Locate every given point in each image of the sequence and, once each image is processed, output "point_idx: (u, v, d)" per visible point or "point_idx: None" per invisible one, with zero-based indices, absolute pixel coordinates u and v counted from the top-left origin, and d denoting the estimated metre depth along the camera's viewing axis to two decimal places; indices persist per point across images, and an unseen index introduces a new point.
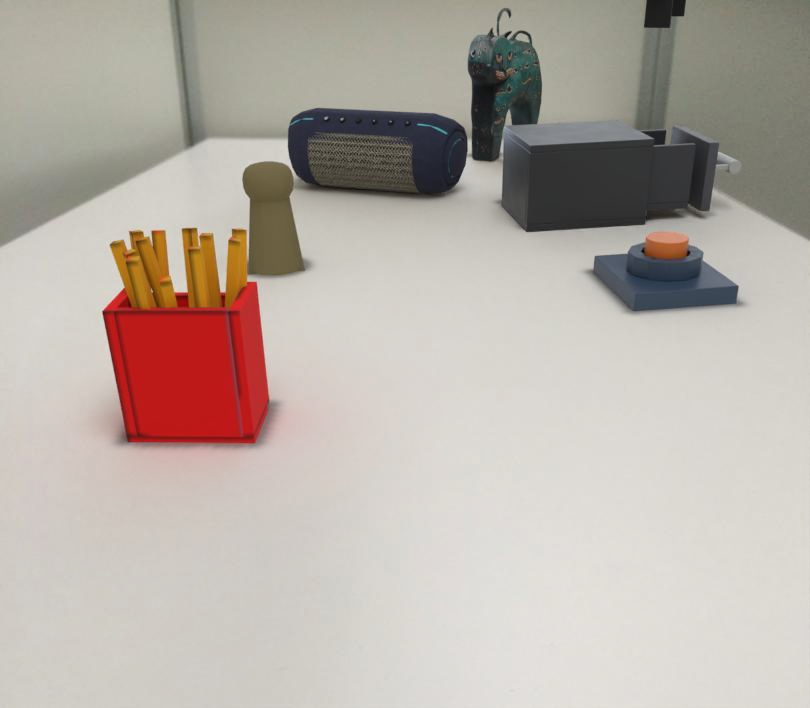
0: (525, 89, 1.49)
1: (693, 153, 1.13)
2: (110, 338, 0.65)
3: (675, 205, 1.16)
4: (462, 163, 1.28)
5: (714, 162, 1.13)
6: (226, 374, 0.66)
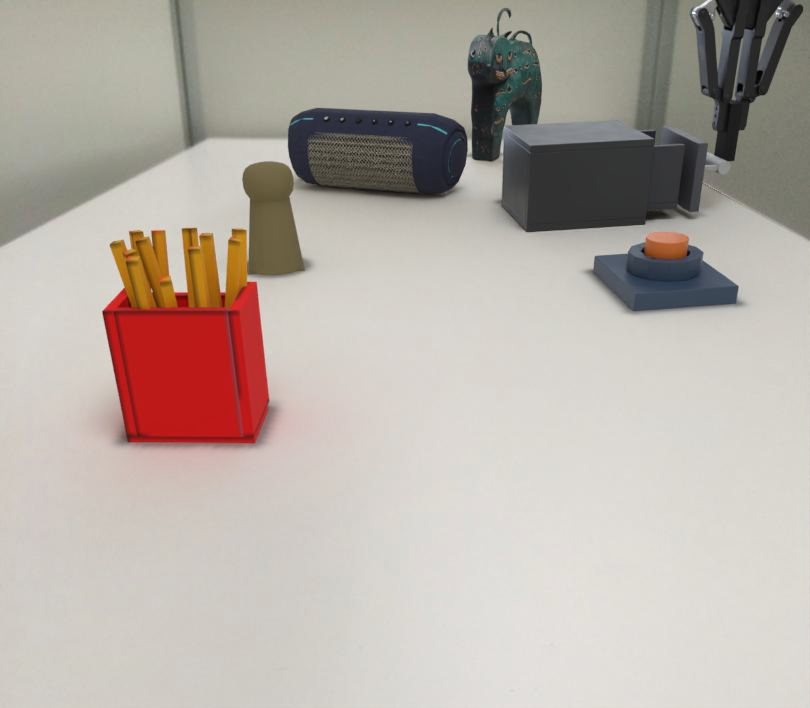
0: (525, 89, 1.49)
1: (682, 154, 1.13)
2: (110, 338, 0.65)
3: (664, 206, 1.16)
4: (462, 163, 1.28)
5: (703, 163, 1.13)
6: (226, 374, 0.66)
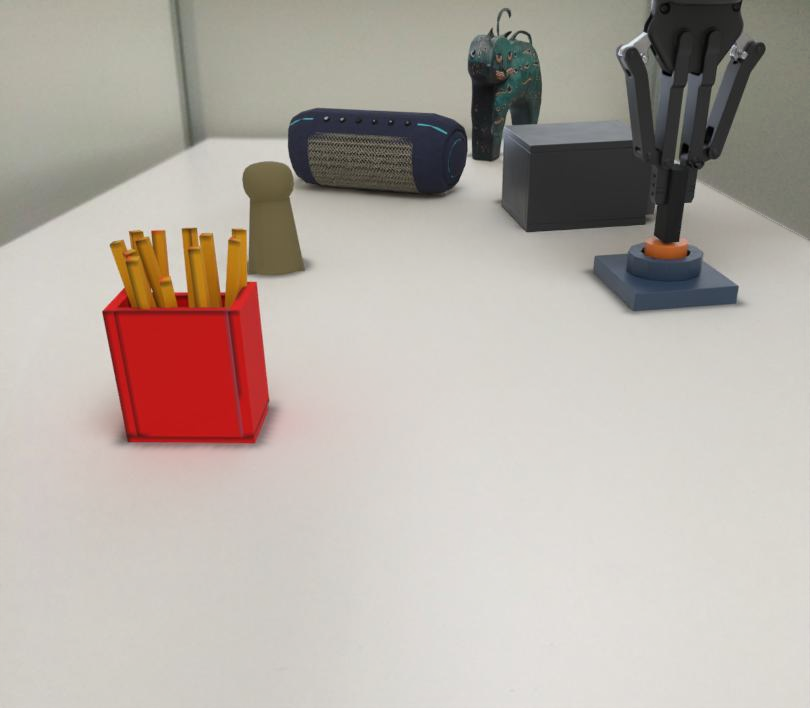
0: (525, 89, 1.49)
1: None
2: (110, 338, 0.65)
3: None
4: (462, 163, 1.28)
5: None
6: (226, 374, 0.66)
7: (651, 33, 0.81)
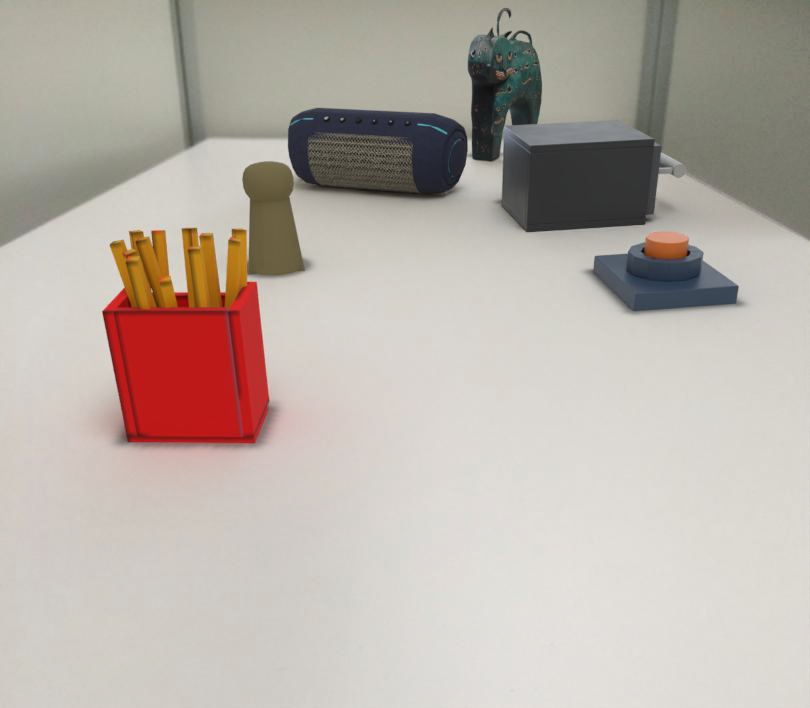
0: (525, 89, 1.49)
1: None
2: (110, 338, 0.65)
3: None
4: (462, 163, 1.28)
5: (657, 165, 1.13)
6: (226, 374, 0.66)
7: None
